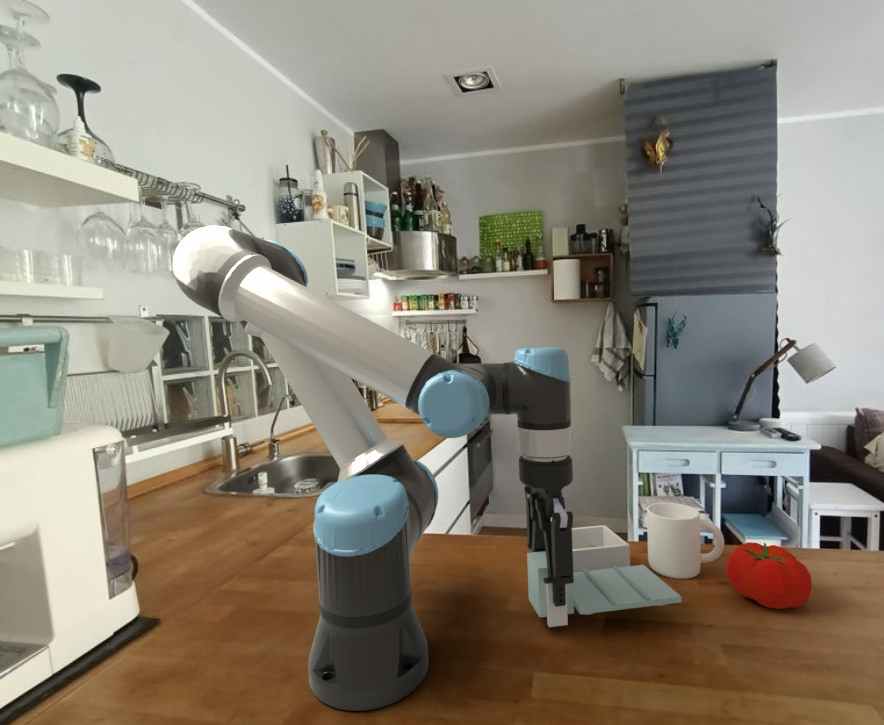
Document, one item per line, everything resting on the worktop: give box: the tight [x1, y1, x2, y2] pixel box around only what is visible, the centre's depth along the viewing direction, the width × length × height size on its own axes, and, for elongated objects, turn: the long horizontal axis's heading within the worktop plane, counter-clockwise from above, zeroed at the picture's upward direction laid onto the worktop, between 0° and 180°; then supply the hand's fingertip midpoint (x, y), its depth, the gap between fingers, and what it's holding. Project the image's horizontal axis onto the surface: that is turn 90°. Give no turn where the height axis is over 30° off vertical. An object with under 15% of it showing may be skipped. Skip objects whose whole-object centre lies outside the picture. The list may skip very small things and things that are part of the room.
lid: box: [526, 551, 683, 618], centre depth 72 cm, size 10×20×7 cm, turn 98°
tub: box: [572, 524, 631, 573], centre depth 85 cm, size 9×14×6 cm, turn 98°
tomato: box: [725, 542, 813, 610], centre depth 74 cm, size 11×11×8 cm
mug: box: [646, 502, 725, 580], centre depth 84 cm, size 12×8×10 cm
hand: (550, 612), depth 71 cm, fingers closed on lid, 5 cm apart
